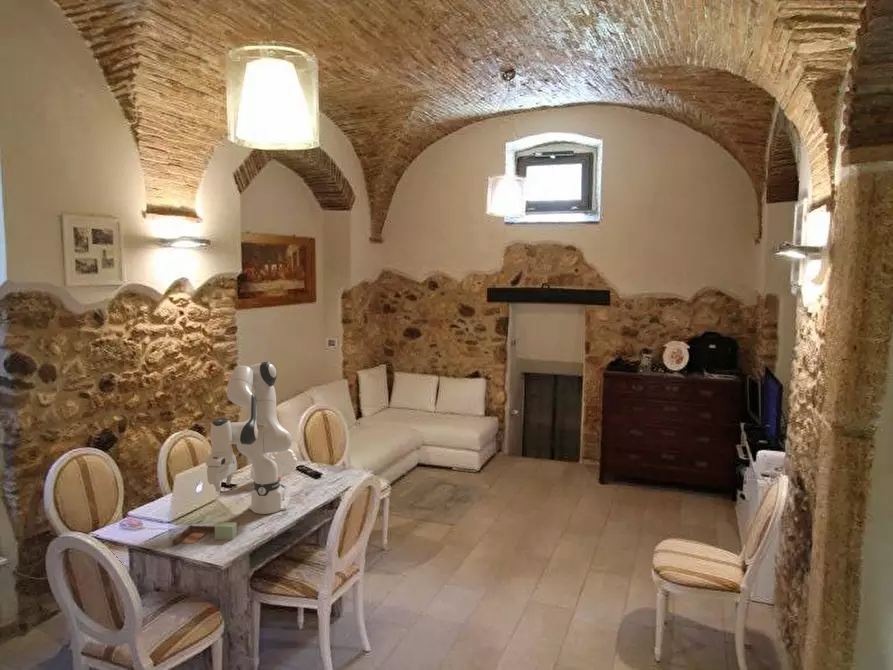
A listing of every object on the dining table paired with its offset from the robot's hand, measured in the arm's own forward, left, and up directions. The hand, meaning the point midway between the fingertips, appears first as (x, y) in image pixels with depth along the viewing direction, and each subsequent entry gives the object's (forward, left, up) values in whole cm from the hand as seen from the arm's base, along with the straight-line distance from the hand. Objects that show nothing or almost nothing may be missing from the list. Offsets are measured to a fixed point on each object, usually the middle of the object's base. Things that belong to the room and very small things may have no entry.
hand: (223, 487), depth 280 cm
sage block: (0, 0, -23) cm, 23 cm away
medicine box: (-93, -4, -23) cm, 96 cm away
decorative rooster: (-68, -4, -23) cm, 72 cm away
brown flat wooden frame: (+2, -13, -22) cm, 26 cm away
